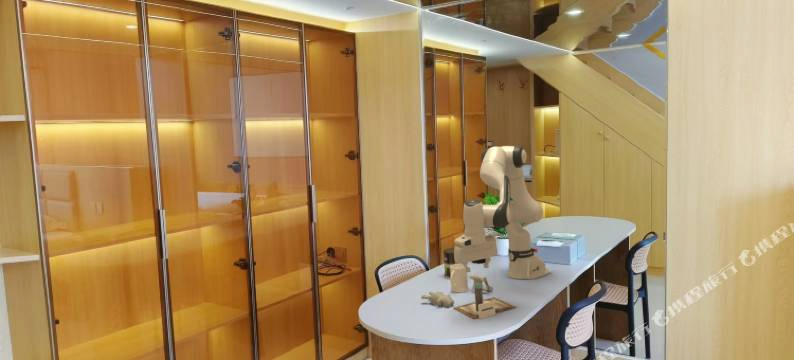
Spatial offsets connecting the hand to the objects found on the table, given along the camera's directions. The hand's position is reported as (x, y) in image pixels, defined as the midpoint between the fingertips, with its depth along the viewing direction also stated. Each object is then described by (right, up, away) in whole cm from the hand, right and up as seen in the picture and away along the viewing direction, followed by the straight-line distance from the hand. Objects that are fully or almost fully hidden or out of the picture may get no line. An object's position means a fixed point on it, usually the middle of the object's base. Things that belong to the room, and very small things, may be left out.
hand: (477, 269), depth 233 cm
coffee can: (-4, -13, +57) cm, 59 cm away
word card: (+4, -19, -5) cm, 20 cm away
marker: (+1, -18, +2) cm, 18 cm away
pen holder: (+13, -9, +82) cm, 83 cm away
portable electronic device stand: (+6, -15, +29) cm, 33 cm away
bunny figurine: (-15, -19, +16) cm, 29 cm away
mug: (-5, -16, +32) cm, 36 cm away
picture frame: (+4, -18, +5) cm, 19 cm away
